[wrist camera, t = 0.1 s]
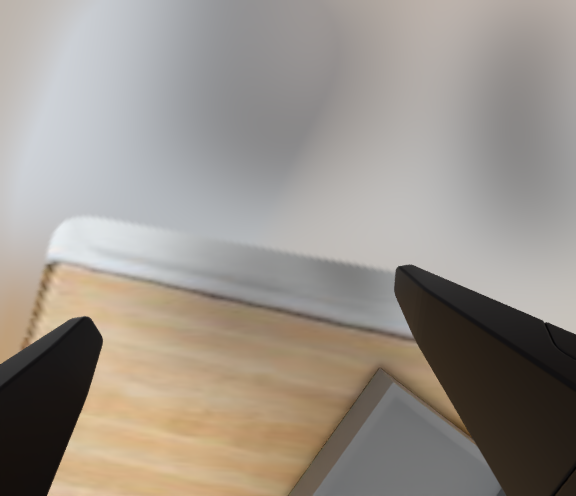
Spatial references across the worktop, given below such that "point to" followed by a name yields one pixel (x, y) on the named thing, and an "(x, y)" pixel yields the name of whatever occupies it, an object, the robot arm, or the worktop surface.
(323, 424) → the worktop surface
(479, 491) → the tray
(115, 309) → the worktop surface
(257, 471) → the worktop surface
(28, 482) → the robot arm
